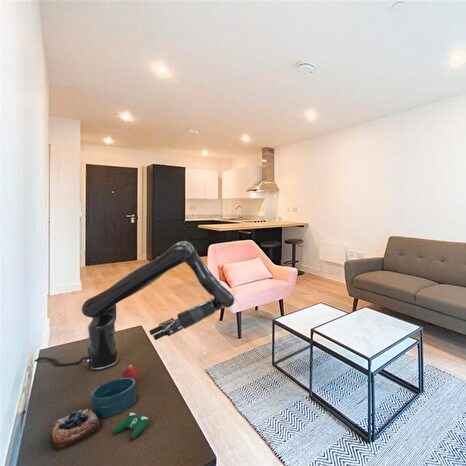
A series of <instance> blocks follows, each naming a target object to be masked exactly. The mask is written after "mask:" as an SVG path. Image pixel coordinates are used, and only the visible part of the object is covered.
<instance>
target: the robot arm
mask: <svg viewBox="0 0 466 466" xmlns="http://www.w3.org/2000/svg"><path fill="white" fill-rule="evenodd" d="M184 263H185V264H186V265H187V266H188V267H189V268H190V269H191V271H192V272H193V274H194V276H195V278H196V280H197V281H198V283H199V284H200V286H201V287H202V288H203V289H204V290H205V291H206V292H207V293H208V294H209V295H210V296H212V298H211V299H210V300H207V301H204V302H202V303H201V304H198V305H196V306H192V307H190V308H188V309H186V310H184V311H181V312H179V313H177V316H176V317H177V318H174V317H171V318H170V319H167V320H165V321H163V322H160V323H159V324H158V326H156V327H154V328H152V329H150V330H149V331H148V332H149V335H150V336H152V337H153V339H154V340H155V341H158V340H160V339H161V338H163V337H170V336H172V335H174V334H177V333H178V332H180V331H182V330H185V329H187V328H189V327H192V326H194V325H195V324H198V323H200V322H202V321H203V320H204V319H206V318H208V317H209V318H210V317H211V316H212V315H214V314H215V313H216V312H217V311H219V310H221V309H225V308H226V309H228V308H231V307H232V306H234V304H235V296H234V295H233V293H232V292H231V291H229V290H228V289H227V288H226V287H225V286H223V284H222V283H221V282H220V281H219V279H217V278H216V276H215V275H214V274H213V273H212V272H211V270H210V269H209V268H208V267H207V265H205V263H204V261H203V259H201V257H200V255H199V254H198V252H197V250H196V249H195V247H194V246H193V245H192V243H190V242H189V241H186V240H181V241H178V242H176V243H174V244H173V245H172V246H171V247H169V248H168V249H167V250H166V251H165V252H164V253H162V254H161V255H159V257H157V258H155V259H153V260H151V261H148V262H147V263H144V264H142V265H140V266H139V267H137V268H135V269H134V270H132V271H131V272H129V273H128V274H126V275H125V276H124V277H122V278H121V279H119V280H118V281H117V282H115V283H114V284H112V285H111V286H110V287H109V288H107V289H105V290H104V291H102V292H100V293H98V294H95V295H93V296H91V297H90V298H88V299H86V300H85V301H84V302H83V304H82V306H81V313H82V315H84V316H85V317H86V318H90V319H91V318H92V319H91V321H90V323H89V324H88V326H87V331H88V332H87V333H88V343H89V345H88V346H89V347H87V355H86V356H84V357H82V358H80V359H79V360H78V361H74V362H67V363H66V362H63V363H62V362H57V359H56V358H52V357H48V356H47V357H46V356H42V357H40V356H39V357H37V358H35V360H34V363H36V362H38V361H40V360H45V361H46V360H47V361H51V362H53V364H54V365H55V366H73V365H78V364H81V363H82V362H83V360H86V362H88V368H89V369H91V370H92V371H101V370H105V369H108V368H112V367H113V366H115V365H116V364H117V363H118V353H119V352H118V351H117V339H116V338H117V336H116V320H117V304H118V303H120V302H121V301H123V300H125V299H127V298H129V297H131V296H134V295H136V294H138V293H139V292H141V291H142V290H144V289H145V288H147V287H149V286H150V285H152V284H153V283H155V282H156V281H158V280H159V279H160V278H161V277H162V276H163V275H165V274H166V273H167V272H169V271H170V270H172V269H174V268H176V267H178V266H180V265H182V264H184Z"/></svg>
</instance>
